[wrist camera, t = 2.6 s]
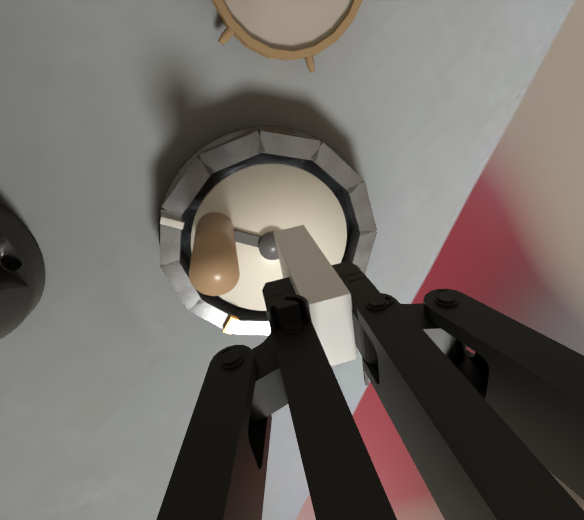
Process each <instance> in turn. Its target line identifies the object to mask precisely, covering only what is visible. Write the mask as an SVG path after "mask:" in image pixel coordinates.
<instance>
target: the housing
mask: <svg viewBox="0 0 584 520" xmlns="http://www.w3.org/2000/svg"><path fill="white" fill-rule="evenodd" d="M275 162H276V163H284V164H289V165H293V166H296V167H299V168H301V169H303V170H306V171H308V172H309V173H311V174H313V175H314V176H316V177H317V178H318V179H319V180H321V181H322V182H323V183H324V184H326V186H327V187H328V188H329V189H330V190H331V191H332V192H333V194H334V195H335V196H336V198H337V199H338V201H339V203H340V205H341V207H342V210H343V213H344V216H345V220H346V226H347V240H346V247H345V252H344V255H343V258H342V261H341V263H342V262H346V261H348V262H351V263H353V264H355V265H357V266H358V267H359V268H360V270H361V271H362V273H364V274H365V272H366V268H367V265H368V261H369V258H370V254H371V251H372V247H373V244H374V240H375V237H376V233H377V232H376V231H375V230H377V228H376V224H375V220H374V216H373V212H372V209H371V205H370V201H369V197H368V193H367V189H366V185H365V181H363V178H361V177H360V176H359V175H358V174H357V173H356V172H355V171H354V170H353V169H352V168H351V167H350V165H349V164H348V163H347V162H346V161H345V160H344V158H343V157H342V156H341V155H340V154H339V153H337V152H336V151H335V150H334V149H332V148H331V147H330V146H329V145H327V144H325V143H324V142H322V141H320V140H319V139H317V138H315V137H312V136H310V135H308V134H305V133H303V132H300V131H297V130H293V129H289V128H284V127H274V126H259V127H250V128H245V129H239V130H236V131H233V132H230V133H227V134H225V135H223V136H221V137H219V138H217V139H215V140H213V141H211V142H209V143H208V144H206V145H205V146H204V147H202V148H201V149H199V150H198V151H197V152H196V153H195V154H194V155H193V156H192V157H190V158H189V159H188V160H187V161H186V163H185V164H184V165H183V166H182V168H181V169H180V170H179V171H178V173H177V175H176V176H175V178H174V180H173V181H172V183H171V185H170V187H169V189H168V191H167V194H166V196H165V199H164V201H163V205H162V208H161V213H160V221H159V243H160V265H161V269H162V270H163V272H164V273H165V275H166V277H167V278H168V280H169V281H170V283H171V284H172V286H173V288H174V289H175V291H176V292H177V294H178V295H179V297H180V299H181V300H182V302H183V303H184V305H185V306H186V308H187V310H188V309H190V312H192V313H194V314H195V315H197V316H199V317H201V318H203V319H205V320H207V321H209V322H211V323H213V324H215V325H217V326H219V327H221V328H223V332H225V333H228V334H231V333H232V334H233V333H234V332H235V334H249V335H269V334H270V331H271V328H270V325H269V321H268V317H267V313H266V311H258V310H250V309H246V308H242V307H239V306H236V305H233V304H231V303H229V302H227V301H225V300H224V299H222V298H221V297H219V296H209V295H205V294H202V293H200V292H199V291H197V290H196V289H195V288H194V287H193V285H192V284H191V282H190V279H189V269H190V263H191V256H192V251H191V232H192V227H193V221H194V218H195V215H196V212H197V209H198V207H199V205H200V203H201V201H202V200H203V199H204V197H205V196H206V194H207V193H208V192H209V191H210V190H211V188H212V187H213V186H214V185H215V184H216V183H218V182H219V181H220V180H221V179H222V178H224V177H225V176H227V175H229V174H230V173H232V172H234V171H236V170H238V169H241V168H243V167H246V166H249V165H253V164H259V163H275Z"/></svg>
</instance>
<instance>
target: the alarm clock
mask: <svg viewBox="0 0 584 520" xmlns="http://www.w3.org/2000/svg"><path fill="white" fill-rule="evenodd" d="M361 2H362V0H212V3H213V5H214V7H215V8H216V10H217V12H218V14H219V16H220V17H221V19H222V21H223V23H224V24H225V26H226V29H225V30H224V31H223V33H222V34H221V36H220V38H219V40H218V41H219V43H220V44H221V45H223V44H224V43H226V42H227V41H228V40H229V39H230V38H231V37H232V35H234V36H235V37H236V38H237V39H238V40H239V41H240V42H241V43H242V44H243V45H244V46H245V47H246V48H248V49H250V50H252V51H254V52H256V53H258V54H260V55H262V56H264V57H266V58H273V59H281V60H296V59H300V58H304V57H305V60H306V64H307V67H308V69H309V72H310V73H311V72H314V60H313V55H316V54H318V53H319V52H321V51H322V50H324V49H325V48H327V47H328V46H330V45H331V44H333V43H334V42H336V41H337V40H338V39H339V38H340V36H341V35H342V34H343V33H344V31H345V30H346V29H347V28H348V26H349V25H350V24H351V23H352V21H353V20H354V19H355V16H356V14H357V12H358V9H359V7H360V5H361Z"/></svg>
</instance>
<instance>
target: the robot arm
mask: <svg viewBox="0 0 584 520" xmlns="http://www.w3.org/2000/svg"><path fill="white" fill-rule="evenodd" d="M273 233H274V238H275V242H276V247H277V252H278V256H279V261H280V266H281V270H282V275H283V279H279V280H275V281H271V282H267V283H265V285H264V287H263V289H262V293H263V297H264V301H265V305H266V310H267V311H266V313H267V317H268V321H269V325H270V328H271V331H270V334H269V336H268V338H267V339H266V340H265V341H264V342H263V343H262V344H260V345H259V346H257V347H255V348H253V349H250V348H249V347H247V346H244V345H233V346H229V347H226V348H225V349H223V350H221V351H219V352H218V353H217V354H216V355H215V356H214V357H213V359H212V360H211V362H210V365H209V367H208V370H207V373H206V376H205V379H204V382H203V385H202V388H201V391H200V394H199V397H198V400H197V403H196V406H195V408H194V411H193V414H192V417H191V420H190V423H189V426H188V429H187V432H186V435H185V438H184V441H183V444H182V447H181V449H180V452H179V455H178V458H177V461H176V464H175V467H174V470H173V473H172V476H171V479H170V482H169V485H168V488H167V490H166V493H165V496H164V499H163V502H162V505H161V508H160V511H159V514H158V517H157V520H261V519H262V510H263V500H264V490H265V480H266V470H267V460H268V451H269V441H270V431H271V421H272V416H271V414H272V413H274V412H275V411H277V410H279V409H280V408H282V407H283V406H285V405H286V404H289V408H290V412H291V416H292V421H293V425H294V429H295V433H296V437H297V442H298V446H299V450H300V454H301V458H302V463H303V467H304V471H305V475H306V479H307V483H308V488H309V492H310V496H311V500H312V504H313V509H314V512H315V517H316V520H397V519H396V517H395V514H394V512H393V509H392V507H391V505H390V502H389V500H388V498H387V495H386V493H385V491H384V489H383V486H382V484H381V482H380V479H379V477H378V475H377V472H376V470H375V468H374V465H373V463H372V461H371V458H370V456H369V454H368V451H367V449H366V447H365V444H364V442H363V440H362V437H361V435H360V433H359V430H358V428H357V426H356V423H355V421H354V419H353V416H352V414H351V412H350V409H349V407H348V405H347V403H346V400H345V398H344V396H343V393H342V391H341V389H340V386H339V384H338V382H337V379H336V377H335V375H334V372H333V370H332V368H331V366H333V365H337V364H340V363H344V362H348V361H351V360H355V359H358V353H357V348H358V350H359V352H360V353H361V355H362V362H363V371H364V381H365V385H369V381H368V378H369V379H370V381H371V383H372V385H373V387H374V388H375V390H376V392H377V394H378V396H379V398H380V400H381V402H382V404H383V405H384V407H385V409H386V411H387V413H388V415H389V417H390V418H391V420H392V422H393V424H394V425H395V428H396V430H397V431H398V433H399V435H400V437H401V439H402V441H403V443H404V444H405V446H406V448H407V450H408V452H409V453H410V456H411V457H412V459H413V461H414V463H415V465H416V467H417V469H418V470H419V472H420V474H421V476H422V478H423V480H424V482H425V483H426V485H427V487H428V489H429V491H430V492H431V495H432V496H433V498H434V500H435V502H436V504H437V506H438V507H439V509H440V511H441V513H442V515H443V517H444V519H445V520H584V511H583V510H582V508H581V507H580V506H579V505H578V504H577V503H576V502H575V500H574V499H573V498H572V497H571V496H570V495H569V494H568V493H567V491H566V490H565V489H564V488H563V487H562V486H561V485H560V484H559V482H558V481H557V480H556V479H555V478H554V477H553V476H552V475H551V474H550V472H551V473H552V474H553V475H555V476H556V477H557V478H558V479H559V480H561V481H562V482H563V483H564V484H565V485H567V486H568V487H569V488H570V489H571V490H573V491H574V492H575V493H576V494H578V495H579V496H580V497H581V498H582V499H583V500H584V356H583V355H581V354H579V353H577V352H575V351H573V350H571V349H569V348H568V347H566V346H564V345H562V344H560V343H558V342H556V341H554V340H552V339H550V338H548V337H546V336H544V335H542V334H541V333H539V332H537V331H535V330H533V329H531V328H529V327H527V326H525V325H523V324H521V323H519V322H517V321H515V320H513V319H512V318H510V317H508V316H506V315H504V314H502V313H500V312H498V311H496V310H494V309H492V308H490V307H488V306H486V305H485V304H483V303H480V302H479V301H477V300H475V299H473V298H471V297H469V296H467V295H465V294H463V293H461V292H458V291H456V290H451V289H437V290H433V291H430V292H429V293H427V294H426V295H425V297H424V303H422V304H400V303H399V302H398V301H397V300H396V299H395V298H394V297H392V296H390V295H387V294H382V293H380V292H379V291H378V290H377V289H376V287H375V286H374V285H373V284H372V283H371V281H370V280H369V279H368V278H367V277H366V275H365V274H364V273H362V271H361V270H360V268H359V267H358V266H357V265H355V264H353V263H351V262H348V261H346V262H342V263H339V264H335V265H331V264H330V262H329V261H328V260H327V258H326V257H325V255H324V254H323V252H322V251H321V249H320V248H319V247H318V245H317V244H316V242H315V241H314V239H313V238H312V236H311V235H310V233H309V232H308V231H307V229H306V228H305V226H304V225H300V226H296V227H292V228H288V229H283V230H279V231H275V232H273ZM44 285H45V268H44V263H43V259H42V256H41V253H40V251H39V248H38V246H37V244H36V243H35V241H34V239H33V238H32V236H31V234H30V233H29V232H28V230H27V229H26V228H25V227H24V226H23V224H22V223H21V222H20V221H19V220H18V219H17V218H16V217H15V216H14V215H13V214H12V213H11V212H9V211H8V210H7V209H6V208H4V207H3V206H2V205H1V204H0V339H1V338H3V337H5V336H6V335H8V334H9V333H10V332H12V331H13V330H14V329H16V328H17V327H18V326H19V325H20V324H21V323H22V322H23V321H24V319H25V318H26V317H27V316H28V315H29V314H30V313H31V311H32V310H33V309H34V308H35V306H36V305H37V304H38V302H39V300H40V298H41V296H42V293H43V290H44ZM466 346H468V347H469V348H471V349H472V350H474V351H475V354H473V353H470V352H469V351H468V350H466ZM549 471H550V472H549Z"/></svg>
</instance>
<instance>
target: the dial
mask: <svg viewBox="0 0 584 520" xmlns="http://www.w3.org/2000/svg"><path fill="white" fill-rule="evenodd" d="M300 225H304V226H305V228H306V229H307V231H308V232H309V233H310V235H311V236H312V238H313V239H314V241H315V242H316V244H317V245H318V247H319V248H320V249H321V251H322V252H323V254H324V255H325V257H326V258H327V260H328V261H329V262H330V264H331V265H335V264H339V263H341V261H342V258H343V255H344V252H345V247H346V240H347V226H346V220H345V216H344V213H343V210H342V207H341V205H340V203H339V201H338V199H337V198H336V196H335V195H334V194H333V192H332V191H331V190H330V189H329V188H328V187H327V186H326V184H324V183H323V182H322V181H321V180H319V179H318V178H317V177H316V176H314V175H313V174H311V173H309V172H308V171H306V170H303V169H301V168H299V167H296V166H293V165H289V164H284V163H276V162H275V163H259V164H253V165H249V166H246V167H243V168H241V169H238V170H236V171H234V172H232V173H230V174H229V175H227V176H225V177H224V178H222V179H221V180H220V181H219V182H218V183H216V184H215V185H214V186H213V187H212V188H211V190H210V191H209V192H208V193H207V194H206V196H205V197H204V199H203V200H202V201H201V203H200V205H199V207H198V209H197V212H196V215H195V218H194V221H193V227H192V232H191V251H192V256H191V263H190V269H189V279H190V282H191V284H192V285H193V287H194V288H195V289H196V290H197V291H199V292H200V293H202V294H205V295H209V296H219V297H221V298H222V299H224V300H225V301H227V302H229V303H231V304H233V305H236V306H239V307H242V308H246V309H250V310H258V311H267V310H266V305H265V301H264V297H263V293H262V289H263V287H264V285H265V283H267V282H271V281H275V280H279V279H283V275H282V270H281V266H280V261H279V256H278V252H277V247H276V242H275V238H274V233H273V232H275V231H279V230H283V229H288V228H292V227H296V226H300Z"/></svg>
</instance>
